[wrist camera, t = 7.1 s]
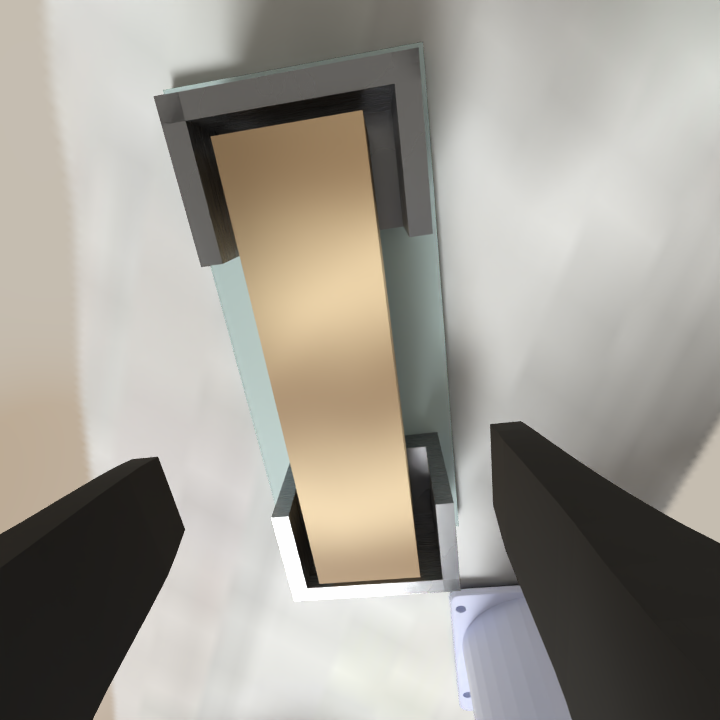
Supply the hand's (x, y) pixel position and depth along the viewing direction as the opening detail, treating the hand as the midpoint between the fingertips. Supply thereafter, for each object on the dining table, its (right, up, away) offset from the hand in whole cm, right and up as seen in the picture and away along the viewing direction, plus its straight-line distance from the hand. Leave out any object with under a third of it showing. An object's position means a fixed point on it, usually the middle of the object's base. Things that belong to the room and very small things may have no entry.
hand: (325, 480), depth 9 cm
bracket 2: (+1, -2, +10) cm, 11 cm away
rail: (0, +3, +7) cm, 7 cm away
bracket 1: (0, +9, +6) cm, 11 cm away
